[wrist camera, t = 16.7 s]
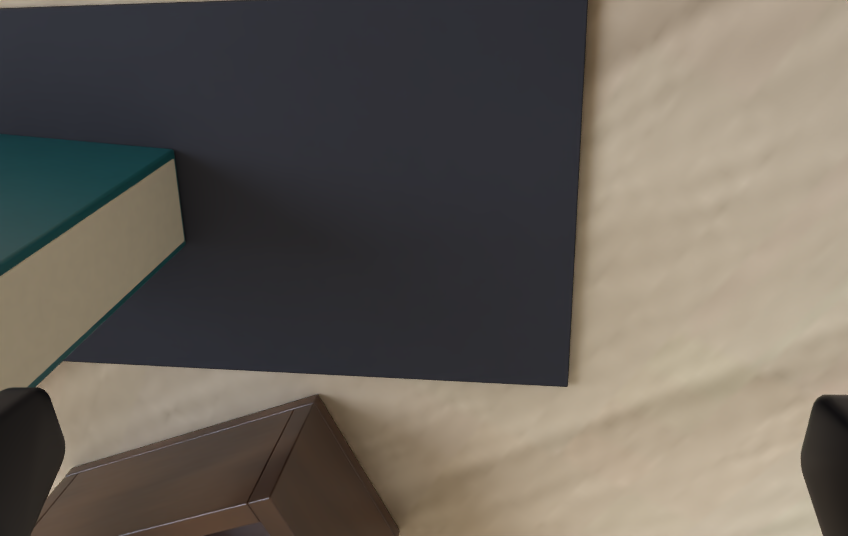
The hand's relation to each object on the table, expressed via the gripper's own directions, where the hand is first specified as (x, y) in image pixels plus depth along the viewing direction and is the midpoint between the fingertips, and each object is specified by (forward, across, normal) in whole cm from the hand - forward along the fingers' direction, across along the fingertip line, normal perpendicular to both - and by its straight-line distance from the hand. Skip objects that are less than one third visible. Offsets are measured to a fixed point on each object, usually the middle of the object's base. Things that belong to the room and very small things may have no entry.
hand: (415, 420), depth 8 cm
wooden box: (+14, +9, +15) cm, 22 cm away
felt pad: (+14, +6, +3) cm, 15 cm away
